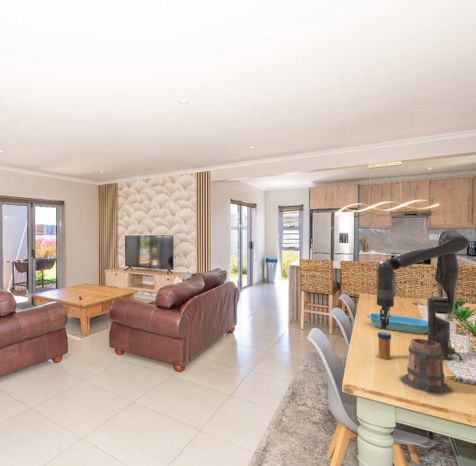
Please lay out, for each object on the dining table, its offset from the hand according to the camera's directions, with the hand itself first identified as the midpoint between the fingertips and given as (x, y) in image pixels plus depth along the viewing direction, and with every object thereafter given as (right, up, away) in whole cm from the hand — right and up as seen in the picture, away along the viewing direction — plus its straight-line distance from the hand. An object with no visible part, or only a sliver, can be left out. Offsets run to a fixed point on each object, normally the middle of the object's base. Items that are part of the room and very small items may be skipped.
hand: (385, 326), depth 185 cm
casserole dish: (+50, -16, +52) cm, 74 cm away
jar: (0, -17, +1) cm, 17 cm away
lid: (0, -4, 0) cm, 4 cm away
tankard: (-8, -18, -33) cm, 38 cm away
